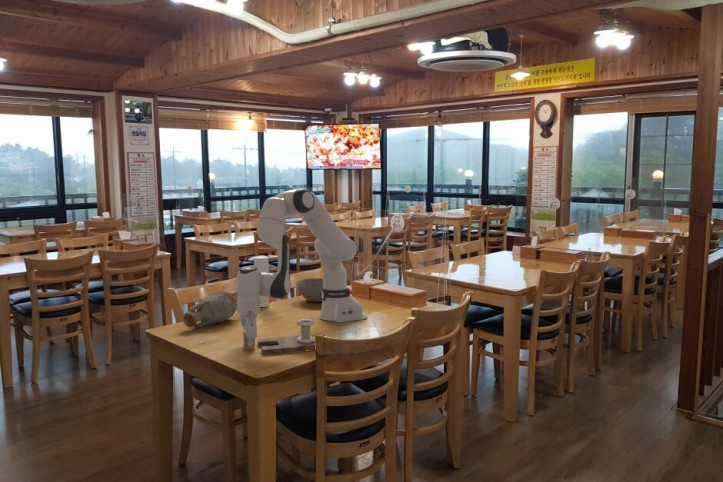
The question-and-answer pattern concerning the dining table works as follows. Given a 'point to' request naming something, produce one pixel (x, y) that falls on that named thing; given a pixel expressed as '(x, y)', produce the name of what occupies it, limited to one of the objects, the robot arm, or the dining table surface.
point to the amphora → (211, 310)
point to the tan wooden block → (247, 344)
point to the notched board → (283, 345)
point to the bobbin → (305, 330)
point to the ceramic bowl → (311, 289)
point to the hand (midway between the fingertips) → (249, 343)
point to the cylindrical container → (262, 266)
